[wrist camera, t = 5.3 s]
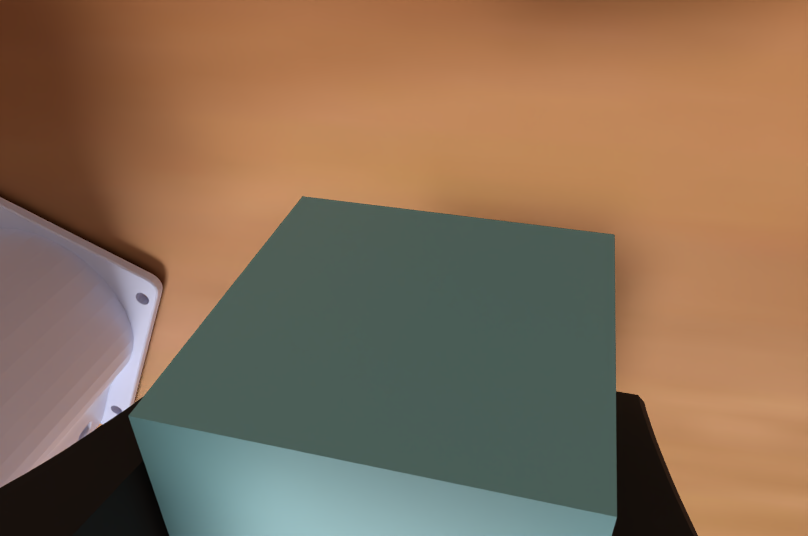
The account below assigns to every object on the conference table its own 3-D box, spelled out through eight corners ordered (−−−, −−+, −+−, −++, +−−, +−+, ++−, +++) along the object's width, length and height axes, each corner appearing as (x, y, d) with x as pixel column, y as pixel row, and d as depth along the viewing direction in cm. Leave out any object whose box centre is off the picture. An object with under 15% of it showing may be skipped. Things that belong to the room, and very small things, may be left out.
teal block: (568, 455, 13) (550, 747, 9) (324, 408, 14) (209, 650, 10) (614, 234, 10) (616, 516, 6) (302, 196, 11) (127, 415, 7)
